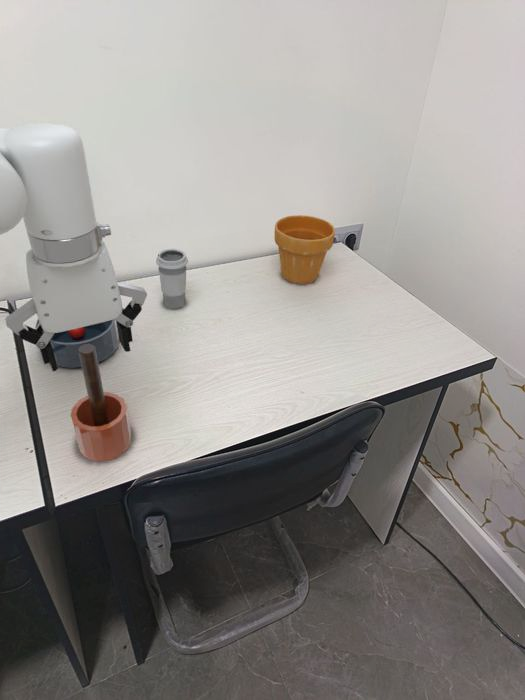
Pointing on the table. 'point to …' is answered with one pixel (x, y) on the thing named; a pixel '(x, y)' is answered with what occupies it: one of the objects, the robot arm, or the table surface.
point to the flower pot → (303, 246)
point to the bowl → (96, 335)
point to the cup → (172, 277)
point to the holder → (102, 429)
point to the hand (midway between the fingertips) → (90, 355)
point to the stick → (93, 384)
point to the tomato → (77, 332)
